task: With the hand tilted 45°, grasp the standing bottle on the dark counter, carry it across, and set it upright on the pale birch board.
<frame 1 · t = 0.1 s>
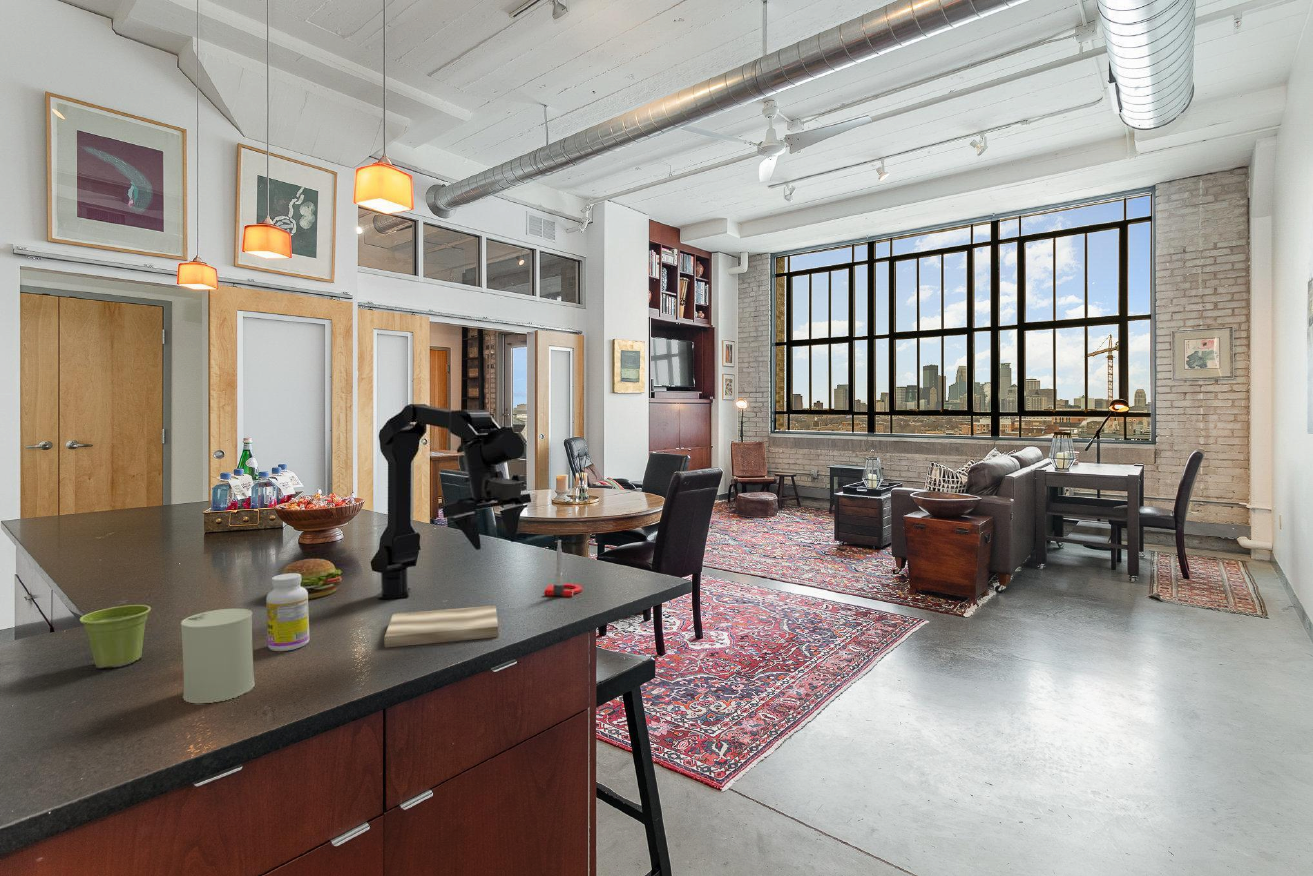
hand: (496, 545, 134), 15 cm above the counter, tool pointing down, fingers open, 9 cm apart
birch board: (444, 630, 130), on the counter
food: (307, 594, 157), on the counter
can: (219, 692, 102), on the counter
tow hook: (563, 592, 157), on the counter
plant pot: (118, 664, 114), on the counter
supplement bottle: (288, 647, 122), on the counter
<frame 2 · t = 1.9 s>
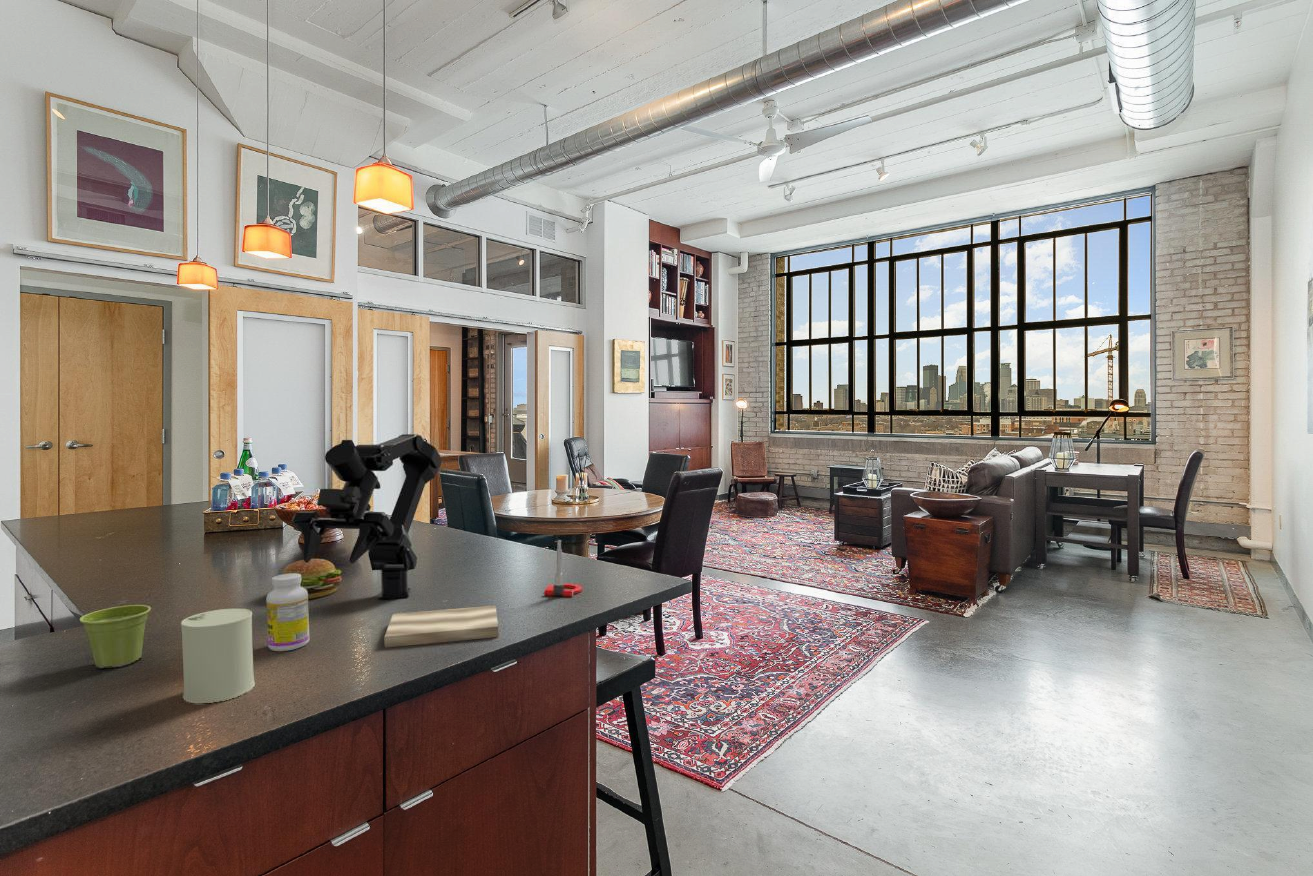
hand: (328, 562, 128), 14 cm above the counter, tool tilted 40°, fingers open, 9 cm apart
nothing on the counter moved.
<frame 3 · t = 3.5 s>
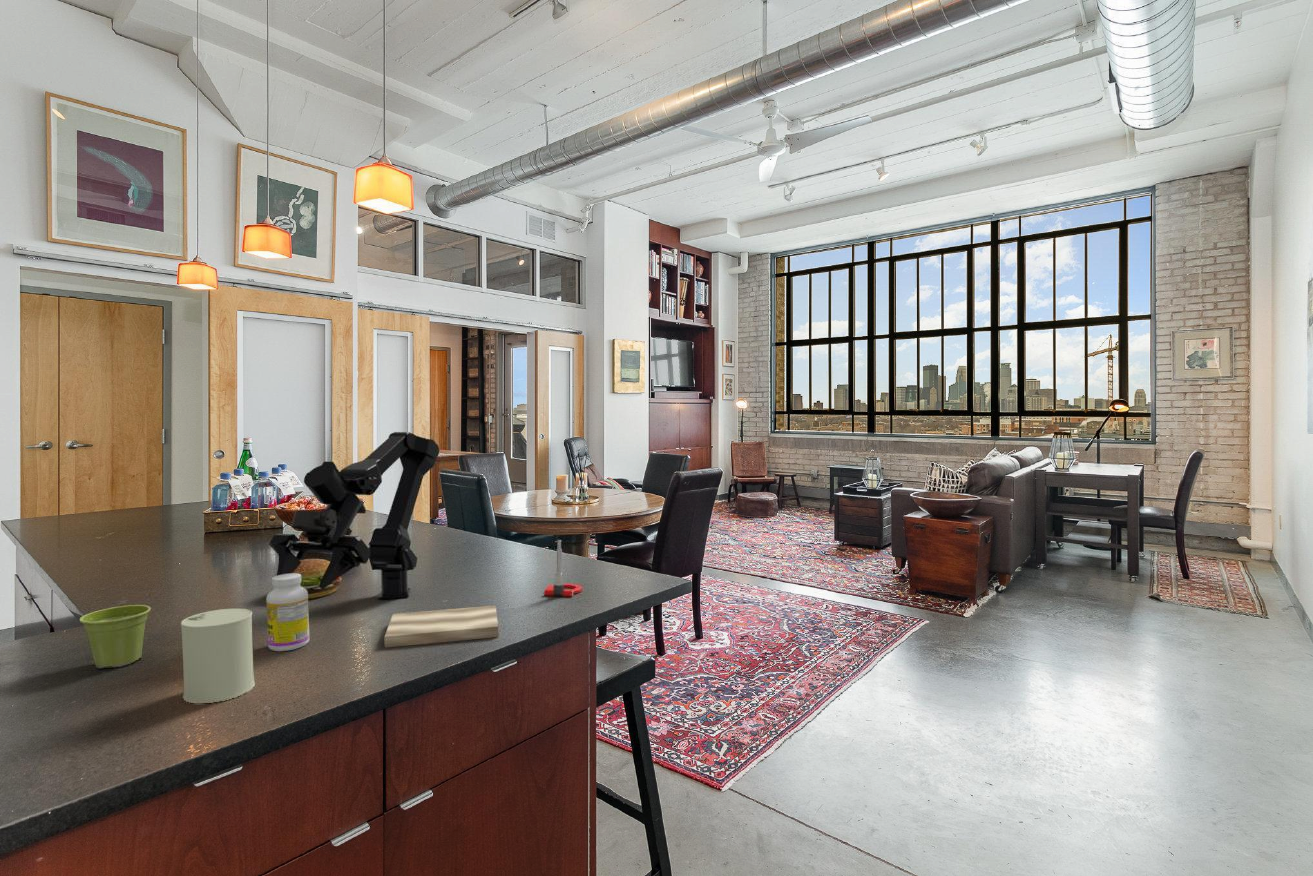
hand: (299, 586, 124), 10 cm above the counter, tool tilted 45°, fingers open, 9 cm apart
nothing on the counter moved.
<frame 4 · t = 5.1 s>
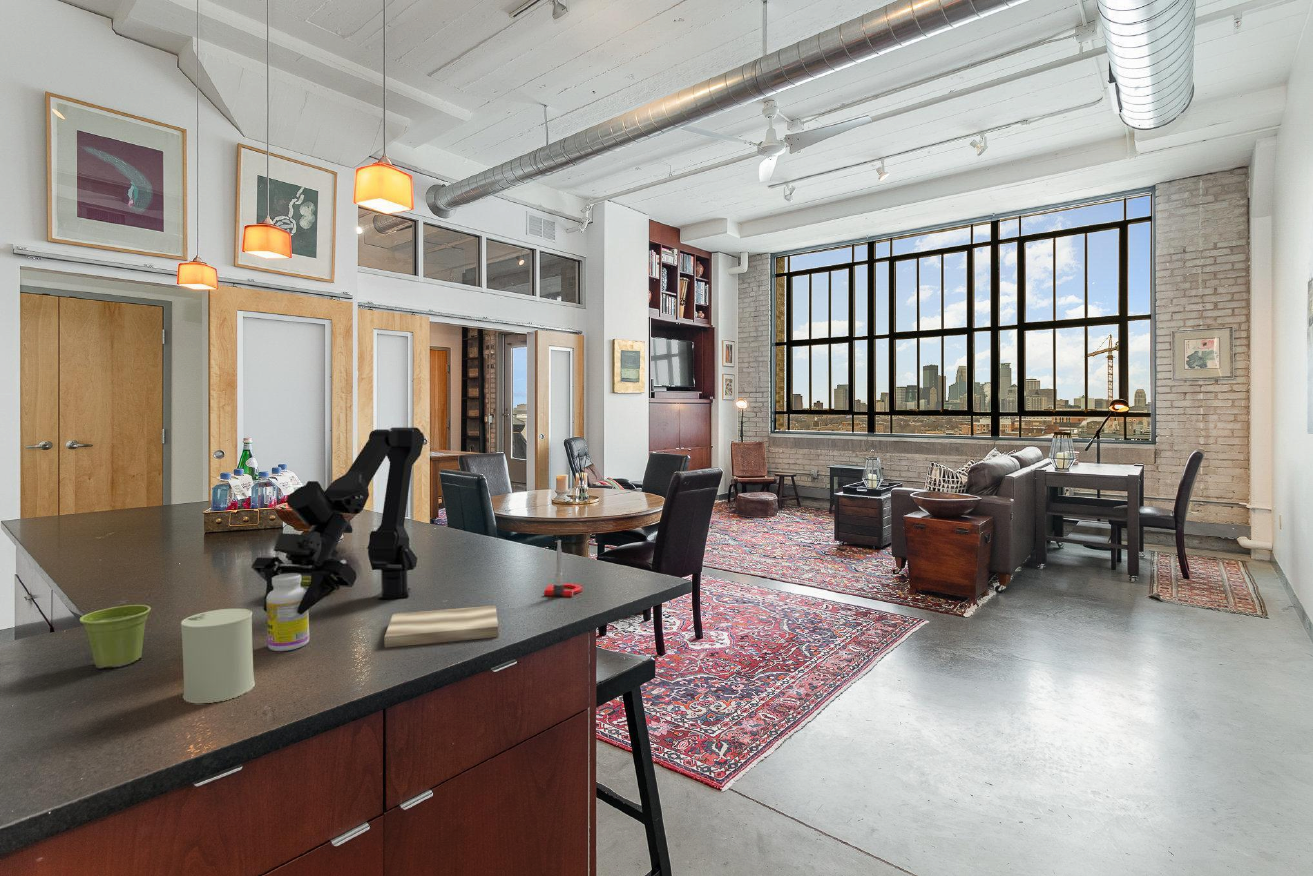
hand: (282, 612, 120), 7 cm above the counter, tool tilted 45°, fingers closed on supplement bottle, 7 cm apart
supplement bottle: (288, 646, 122), on the counter, touching gripper
everything else where it was.
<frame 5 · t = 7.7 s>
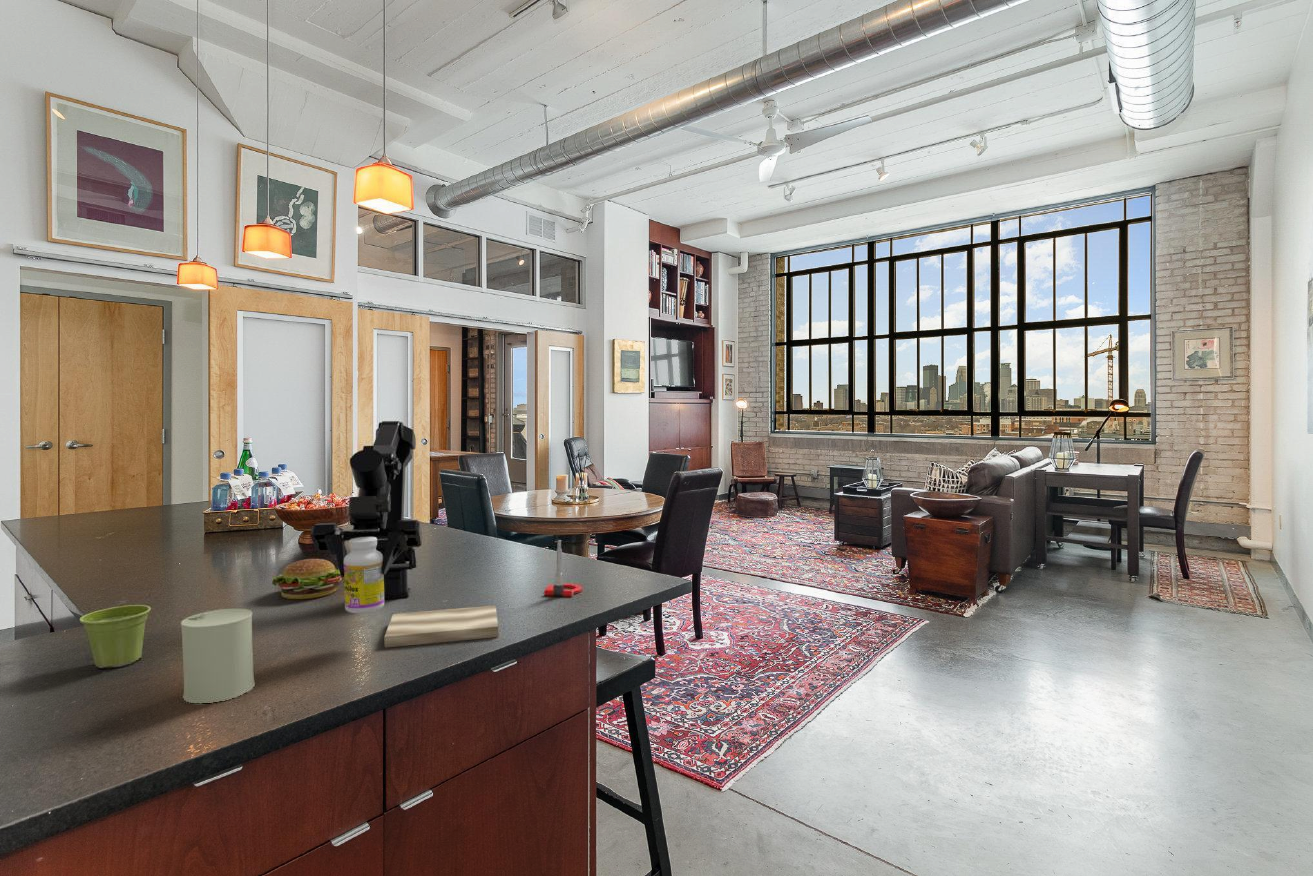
hand: (362, 574, 120), 13 cm above the counter, tool tilted 45°, fingers closed on supplement bottle, 7 cm apart
supplement bottle: (365, 609, 122), point 6 cm above the counter, touching gripper
everything else where it was.
when the fingers open (9 cm above the counter, at t = 10.4 s): supplement bottle stays where it is, resting on birch board.
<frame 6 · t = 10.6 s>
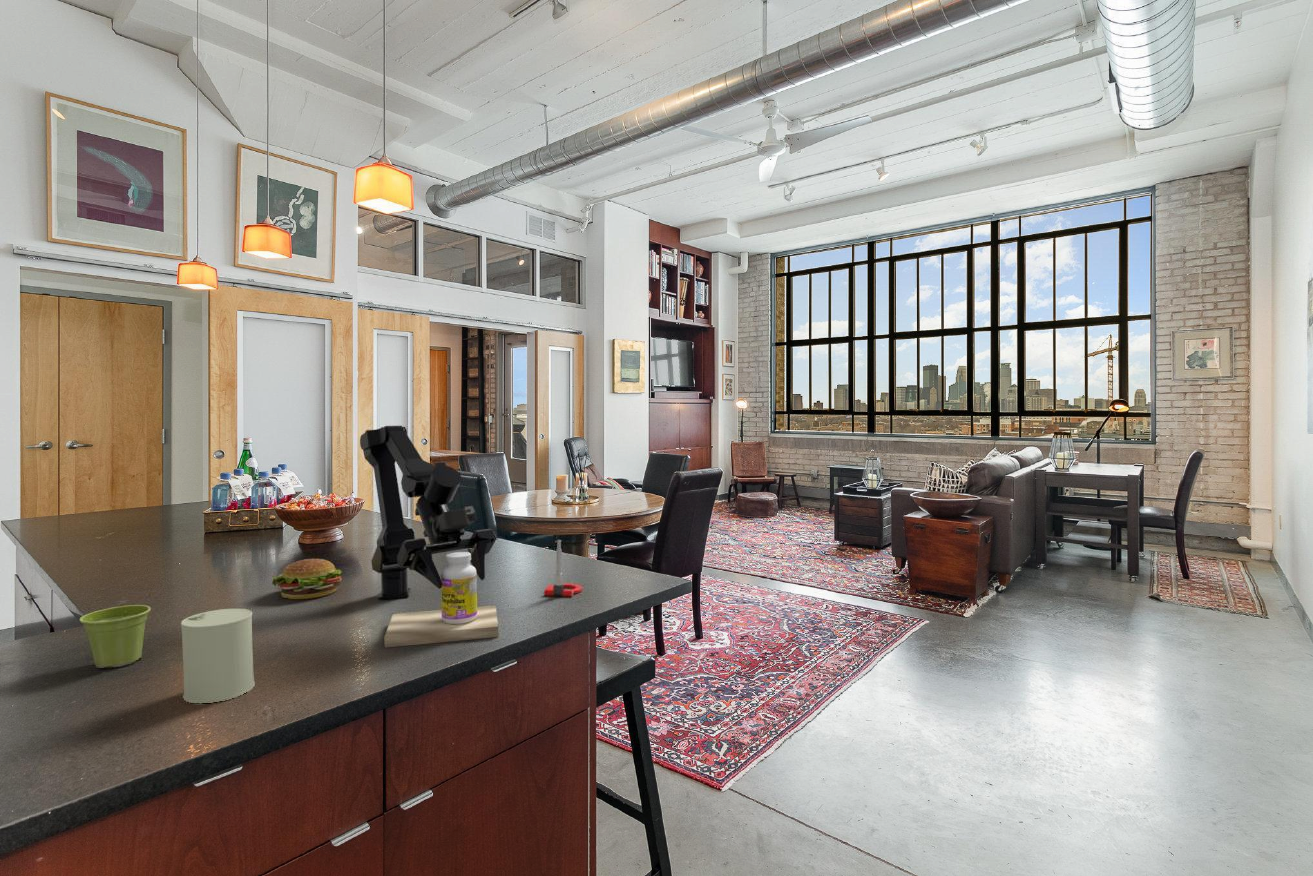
hand: (462, 583, 128), 10 cm above the counter, tool tilted 45°, fingers open, 8 cm apart
supplement bottle: (459, 620, 130), point 2 cm above the counter, touching birch board
everything else where it was.
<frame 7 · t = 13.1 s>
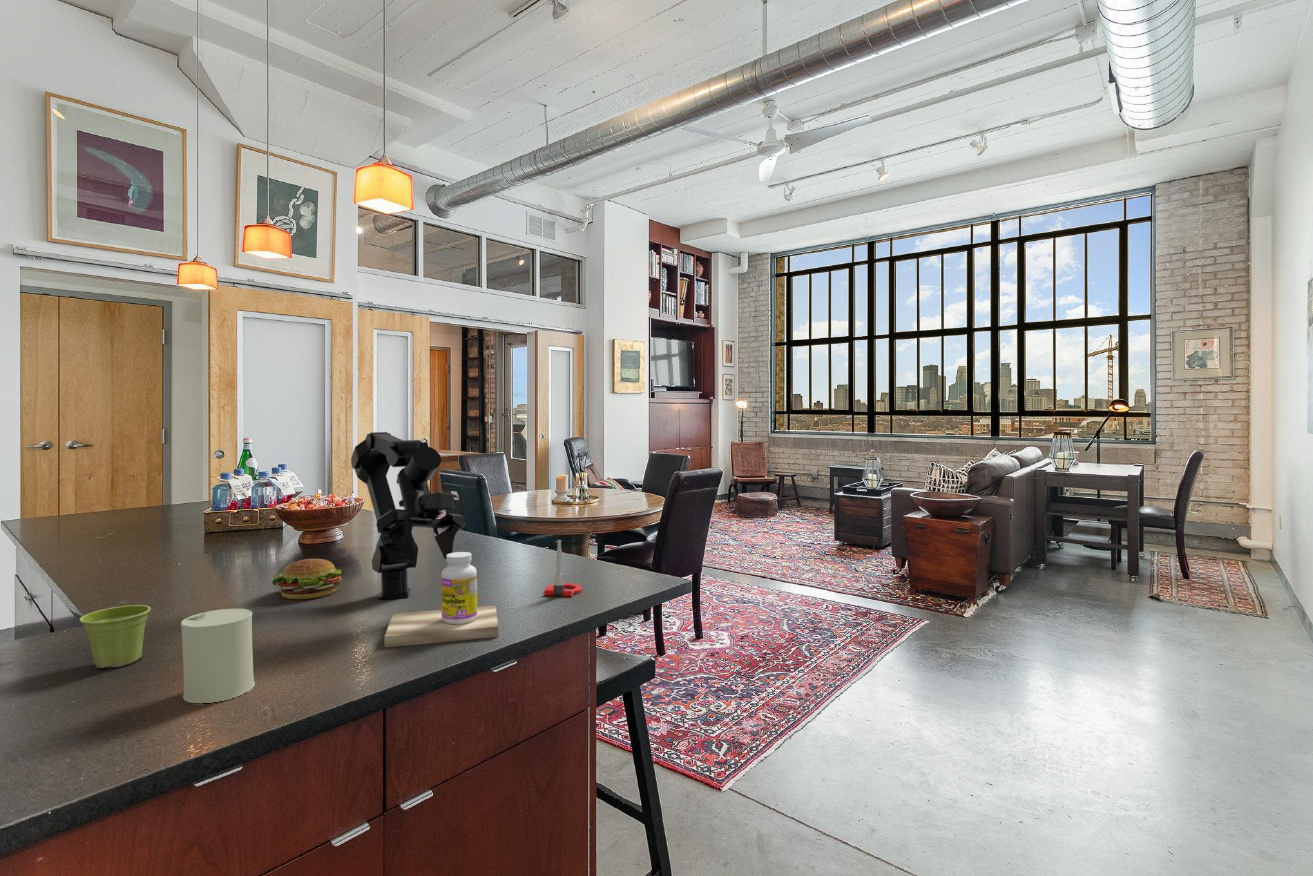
hand: (431, 561, 136), 12 cm above the counter, tool tilted 30°, fingers open, 9 cm apart
nothing on the counter moved.
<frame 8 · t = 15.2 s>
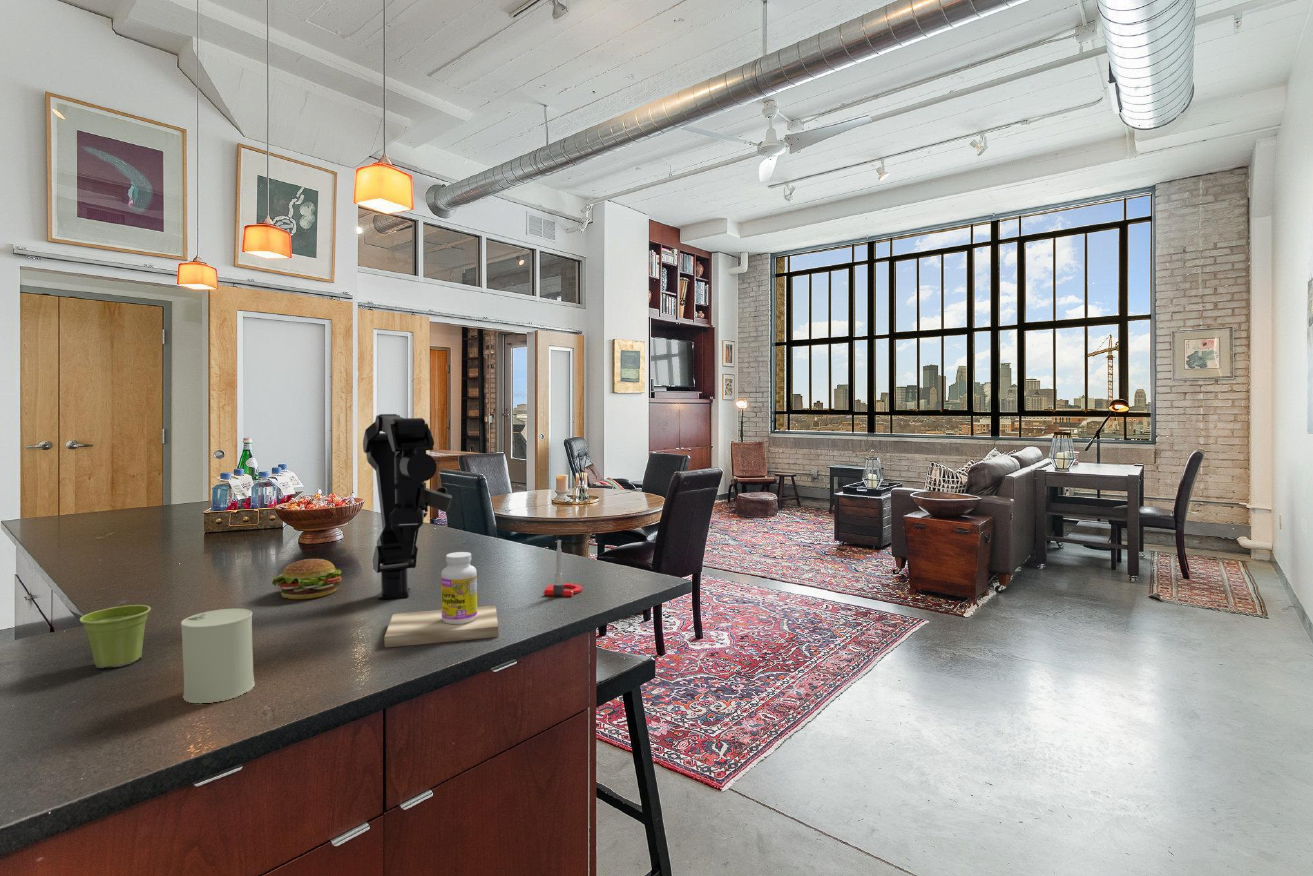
hand: (411, 551, 141), 13 cm above the counter, tool pointing down, fingers open, 9 cm apart
nothing on the counter moved.
at the end: supplement bottle inside the target area (0.2 cm from its centre), point 1.8 cm above the counter; supplement bottle tilted 0°; the gripper is holding nothing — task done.
